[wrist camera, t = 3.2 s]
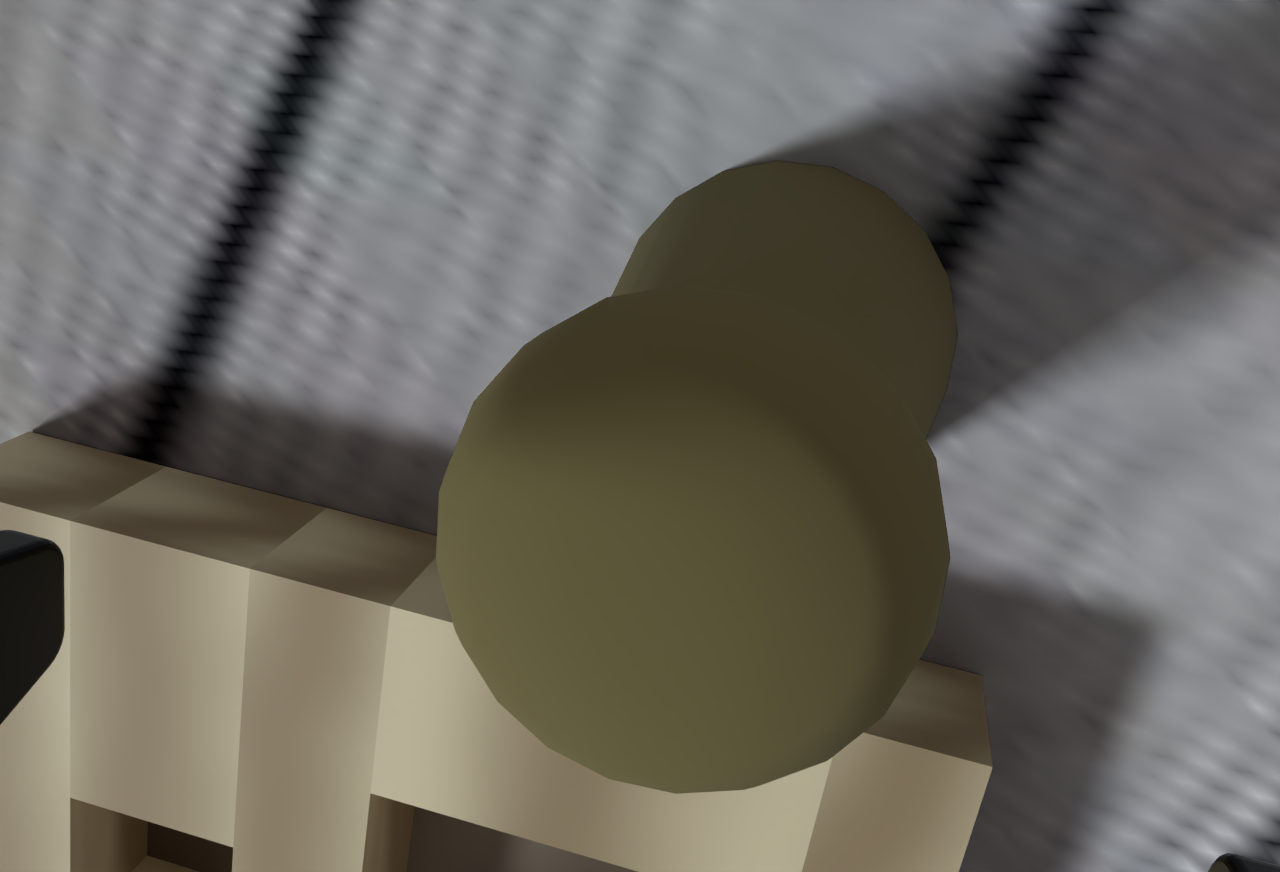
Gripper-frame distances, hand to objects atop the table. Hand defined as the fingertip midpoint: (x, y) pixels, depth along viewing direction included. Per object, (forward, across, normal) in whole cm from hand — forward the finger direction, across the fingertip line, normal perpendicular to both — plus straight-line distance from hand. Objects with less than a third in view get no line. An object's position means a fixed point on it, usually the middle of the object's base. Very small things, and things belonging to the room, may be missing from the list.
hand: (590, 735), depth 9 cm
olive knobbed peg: (+13, 0, 0) cm, 13 cm away
